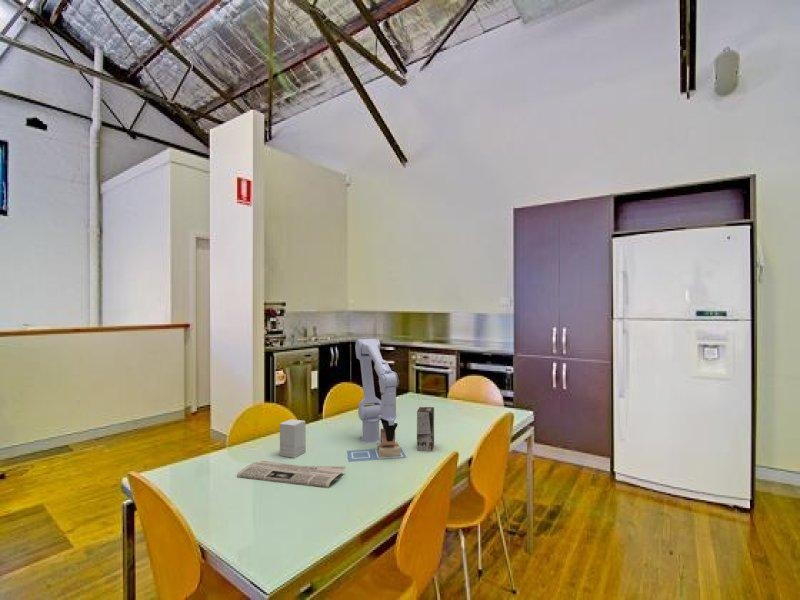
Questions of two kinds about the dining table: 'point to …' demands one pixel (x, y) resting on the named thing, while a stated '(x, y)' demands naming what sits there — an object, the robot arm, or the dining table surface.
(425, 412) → the coffee box
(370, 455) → the blueprint board
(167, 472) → the dining table surface
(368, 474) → the dining table surface
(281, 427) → the supplement box
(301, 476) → the newspaper
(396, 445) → the base block
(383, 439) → the top block
